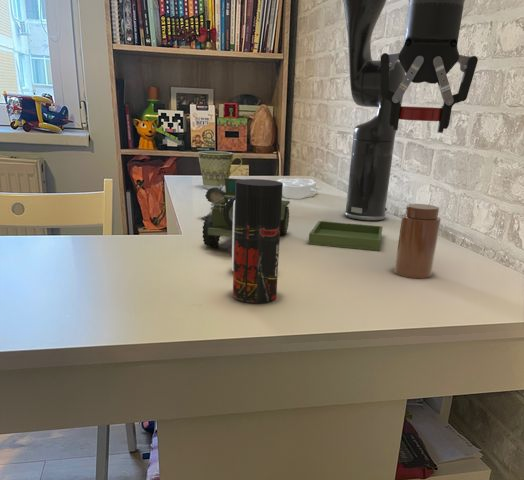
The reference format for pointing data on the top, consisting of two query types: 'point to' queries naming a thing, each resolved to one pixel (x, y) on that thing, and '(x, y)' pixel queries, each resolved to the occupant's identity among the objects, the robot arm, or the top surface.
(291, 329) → the top surface
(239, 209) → the deodorant
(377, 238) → the tray
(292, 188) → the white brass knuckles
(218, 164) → the ceramic cup
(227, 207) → the toy jeep
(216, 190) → the eagle figurine
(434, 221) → the jar
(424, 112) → the jar lid
